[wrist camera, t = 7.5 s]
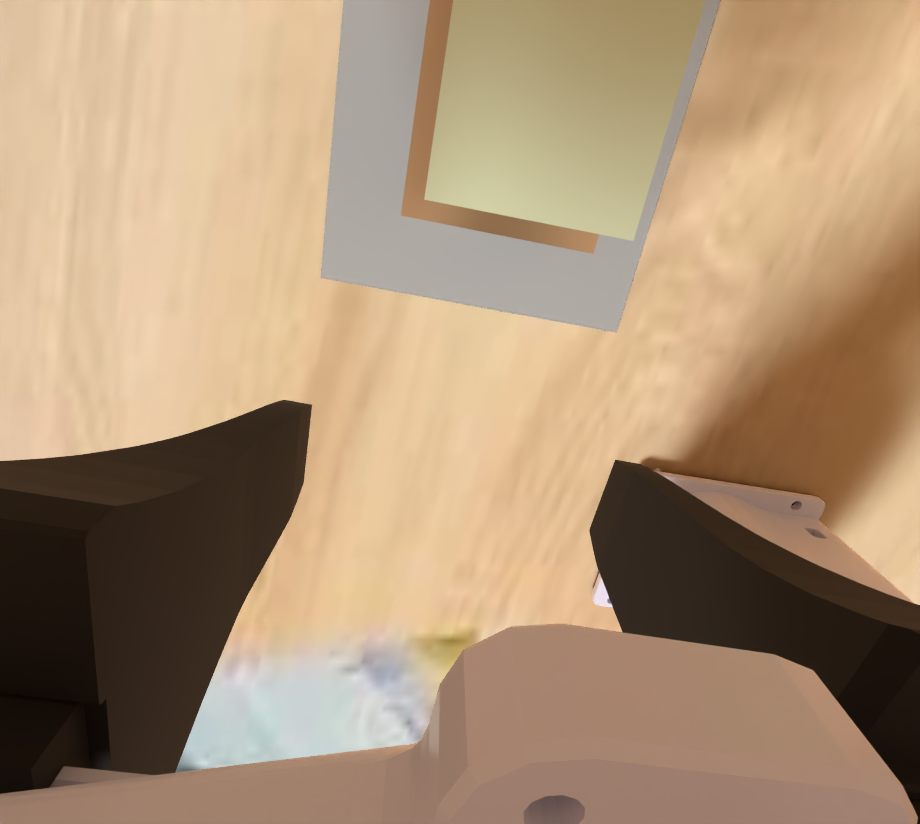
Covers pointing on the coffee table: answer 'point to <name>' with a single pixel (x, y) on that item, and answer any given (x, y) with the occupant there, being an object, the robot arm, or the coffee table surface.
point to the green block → (558, 107)
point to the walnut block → (422, 151)
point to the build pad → (444, 246)
